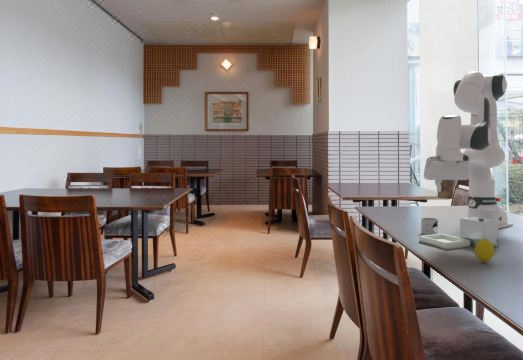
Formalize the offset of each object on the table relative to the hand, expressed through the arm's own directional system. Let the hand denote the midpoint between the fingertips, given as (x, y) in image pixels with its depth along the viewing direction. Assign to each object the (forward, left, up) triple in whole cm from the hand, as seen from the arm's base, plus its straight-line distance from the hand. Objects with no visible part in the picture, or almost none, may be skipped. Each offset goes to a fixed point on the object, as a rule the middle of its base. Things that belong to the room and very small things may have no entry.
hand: (445, 191), depth 166 cm
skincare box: (-23, +1, -21) cm, 31 cm away
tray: (+2, +2, -20) cm, 21 cm away
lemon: (+11, +28, -21) cm, 37 cm away
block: (0, 0, -3) cm, 3 cm away
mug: (-9, -17, -21) cm, 28 cm away
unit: (-9, +8, -20) cm, 24 cm away
